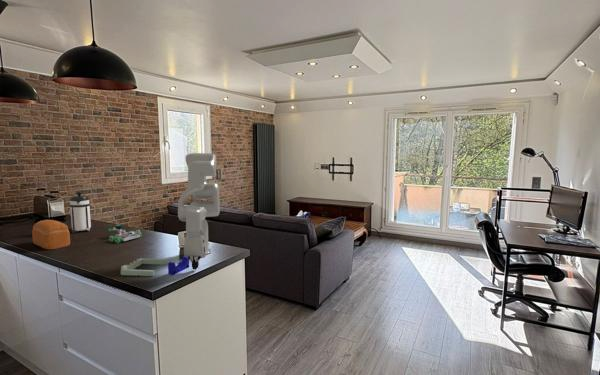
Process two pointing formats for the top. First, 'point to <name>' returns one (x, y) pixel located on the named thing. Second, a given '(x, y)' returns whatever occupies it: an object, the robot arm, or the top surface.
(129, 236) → the robot kit
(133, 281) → the top surface
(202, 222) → the robot arm
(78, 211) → the coffee press
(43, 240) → the bread
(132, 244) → the top surface
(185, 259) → the cable clip
